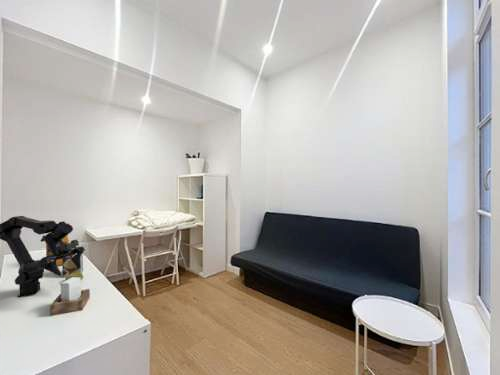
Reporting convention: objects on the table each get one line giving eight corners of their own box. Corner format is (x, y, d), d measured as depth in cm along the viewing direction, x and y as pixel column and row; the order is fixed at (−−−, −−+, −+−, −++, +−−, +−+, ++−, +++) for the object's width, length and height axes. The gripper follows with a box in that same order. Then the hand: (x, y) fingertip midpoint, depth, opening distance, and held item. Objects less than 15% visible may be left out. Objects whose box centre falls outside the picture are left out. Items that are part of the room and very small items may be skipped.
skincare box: (73, 302, 102) (72, 277, 102) (81, 303, 101) (81, 277, 101) (60, 310, 96) (60, 282, 95) (69, 310, 95) (69, 283, 95)
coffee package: (72, 263, 152) (72, 231, 152) (48, 269, 142) (48, 235, 142) (68, 260, 158) (67, 230, 158) (44, 265, 148) (44, 233, 148)
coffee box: (62, 278, 129) (61, 250, 128) (65, 274, 134) (64, 247, 134) (81, 275, 133) (80, 248, 133) (83, 271, 139) (83, 245, 138)
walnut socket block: (50, 316, 91) (49, 305, 91) (61, 302, 101) (60, 293, 101) (82, 310, 96) (82, 299, 95) (89, 298, 106) (89, 288, 106)
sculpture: (63, 278, 119) (66, 273, 125) (63, 286, 119) (66, 280, 125) (82, 275, 123) (83, 270, 130) (82, 282, 123) (83, 277, 130)
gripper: (44, 240, 96) (60, 270, 94) (84, 231, 114) (99, 256, 113) (28, 253, 98) (44, 283, 96) (70, 242, 116) (84, 267, 115)
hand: (70, 271), depth 105 cm, fingers open, 9 cm apart
